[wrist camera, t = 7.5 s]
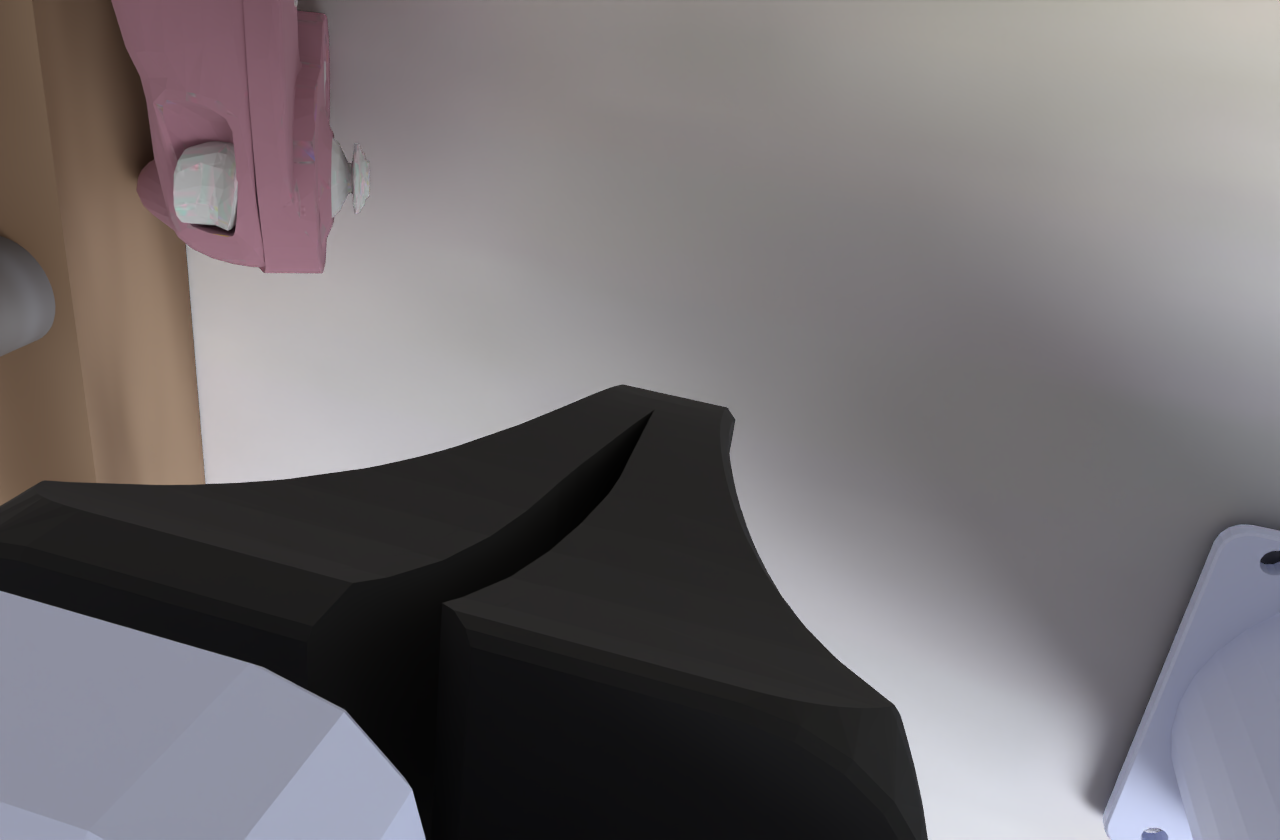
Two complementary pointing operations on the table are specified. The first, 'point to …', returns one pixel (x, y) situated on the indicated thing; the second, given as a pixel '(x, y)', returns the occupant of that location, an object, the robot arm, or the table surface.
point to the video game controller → (241, 129)
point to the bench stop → (86, 266)
